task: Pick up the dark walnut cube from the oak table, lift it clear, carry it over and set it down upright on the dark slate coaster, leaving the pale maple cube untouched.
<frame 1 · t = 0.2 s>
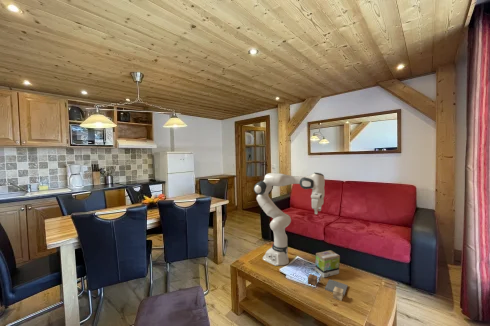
hand: (317, 212, 160), 47 cm above the table, fingers open, 8 cm apart
maple cube: (338, 297, 136), on the table
walnut cube: (312, 283, 150), on the table
tea box: (327, 272, 164), on the table
slate coaster: (336, 288, 145), on the table
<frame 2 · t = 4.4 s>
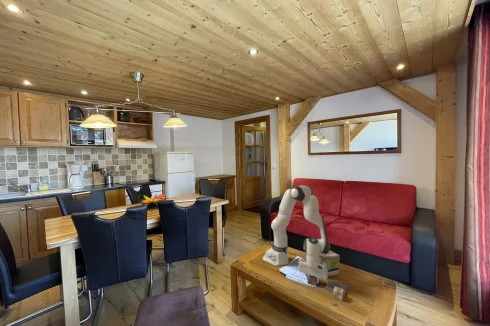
hand: (312, 281, 150), 2 cm above the table, fingers closed on walnut cube, 5 cm apart
walnut cube: (312, 283, 150), on the table, touching gripper
everything else where it was.
when the fingers open (4 cm above the table, at t = 10.6 s): walnut cube stays where it is, resting on slate coaster.
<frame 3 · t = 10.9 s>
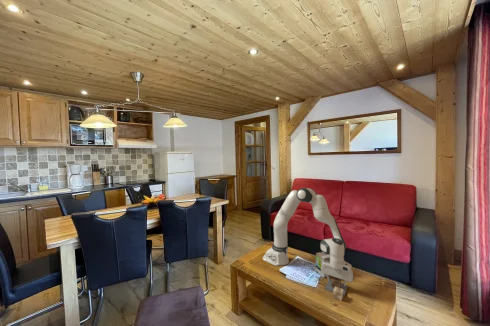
hand: (336, 283, 145), 4 cm above the table, fingers open, 8 cm apart
walnut cube: (336, 286, 145), point 1 cm above the table, touching slate coaster
everything else where it was.
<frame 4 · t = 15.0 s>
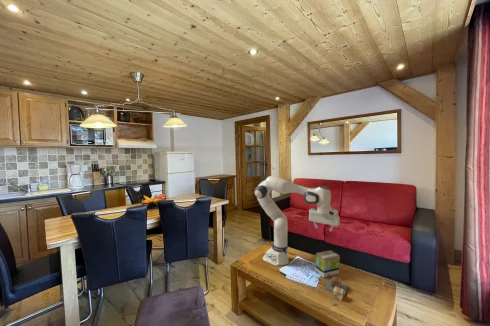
hand: (323, 229, 147), 39 cm above the table, fingers open, 8 cm apart
nothing on the table moved.
at the end: walnut cube inside the target area on the slate coaster (0.1 cm from its centre), point 1.2 cm above the slate coaster's base; walnut cube tilted 0°; the gripper is holding nothing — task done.
